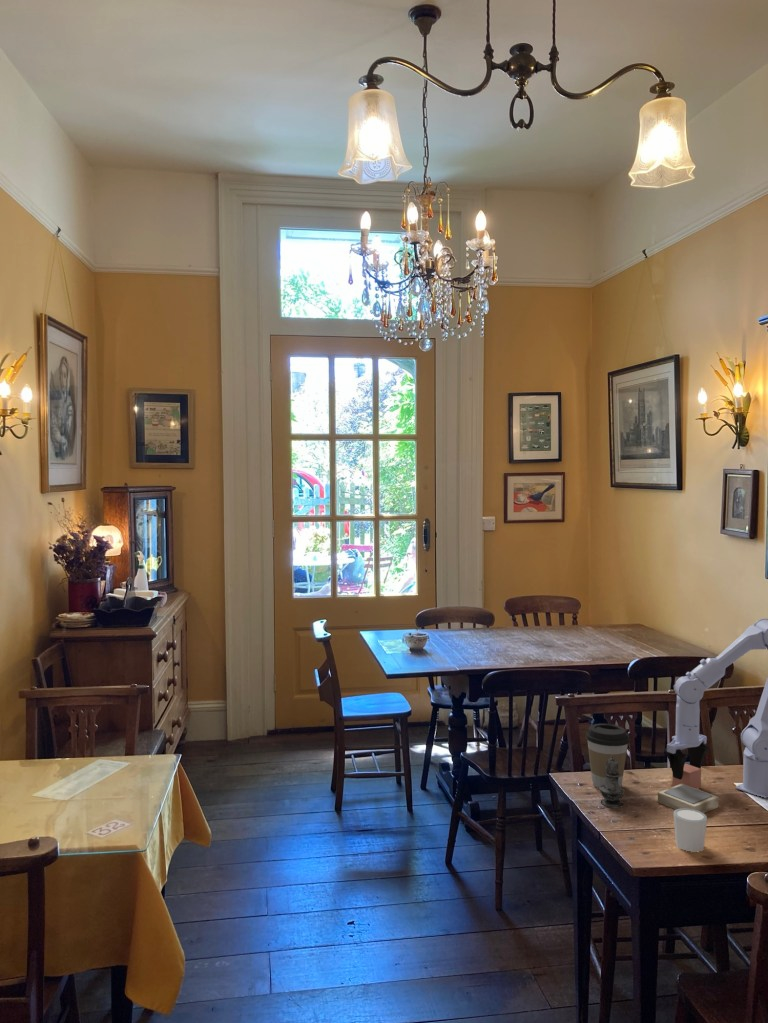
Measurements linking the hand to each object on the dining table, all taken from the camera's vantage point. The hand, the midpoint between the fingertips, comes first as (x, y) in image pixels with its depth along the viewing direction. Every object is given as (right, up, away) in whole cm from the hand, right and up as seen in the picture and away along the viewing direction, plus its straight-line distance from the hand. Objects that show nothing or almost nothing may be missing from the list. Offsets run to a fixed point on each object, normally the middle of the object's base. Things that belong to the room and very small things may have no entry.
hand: (686, 775), depth 195 cm
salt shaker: (-23, -3, -11) cm, 25 cm away
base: (-4, -3, -11) cm, 13 cm away
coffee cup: (-21, -3, 0) cm, 21 cm away
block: (0, -3, 0) cm, 3 cm away
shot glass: (-13, -4, -33) cm, 35 cm away
